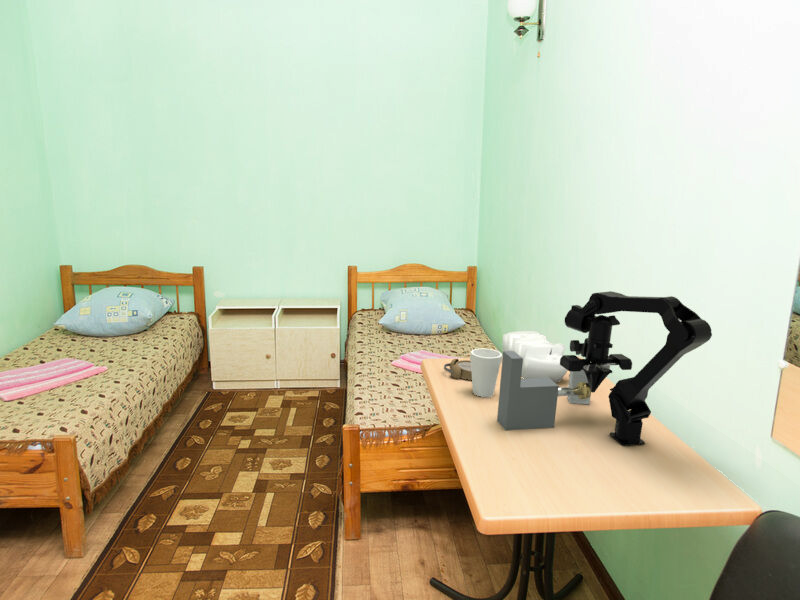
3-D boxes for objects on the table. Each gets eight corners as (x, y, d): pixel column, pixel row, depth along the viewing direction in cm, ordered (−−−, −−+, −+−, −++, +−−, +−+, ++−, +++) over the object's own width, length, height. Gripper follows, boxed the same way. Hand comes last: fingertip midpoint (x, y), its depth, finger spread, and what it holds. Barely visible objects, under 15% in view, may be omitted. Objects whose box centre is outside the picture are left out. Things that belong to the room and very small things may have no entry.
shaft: (589, 401, 154) (591, 385, 153) (546, 403, 151) (548, 387, 150) (580, 395, 158) (582, 379, 157) (538, 397, 156) (540, 381, 155)
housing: (554, 427, 153) (562, 357, 148) (505, 430, 150) (512, 358, 145) (544, 418, 158) (551, 349, 154) (496, 420, 155) (503, 351, 151)
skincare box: (586, 399, 173) (591, 362, 170) (589, 405, 169) (594, 367, 166) (566, 397, 174) (570, 360, 171) (569, 403, 170) (573, 365, 167)
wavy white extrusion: (496, 352, 215) (498, 325, 213) (538, 352, 217) (541, 326, 215) (526, 387, 181) (529, 355, 179) (575, 387, 183) (579, 356, 181)
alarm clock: (492, 374, 183) (447, 364, 183) (488, 388, 184) (443, 378, 184) (487, 362, 194) (445, 353, 194) (484, 376, 195) (441, 366, 195)
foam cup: (496, 401, 169) (500, 360, 166) (465, 397, 171) (468, 356, 168) (499, 390, 178) (503, 350, 175) (470, 386, 180) (473, 346, 177)
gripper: (613, 328, 162) (607, 380, 166) (553, 329, 159) (547, 382, 162) (637, 340, 152) (629, 395, 155) (573, 341, 148) (566, 397, 151)
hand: (592, 391), depth 156 cm, fingers closed
